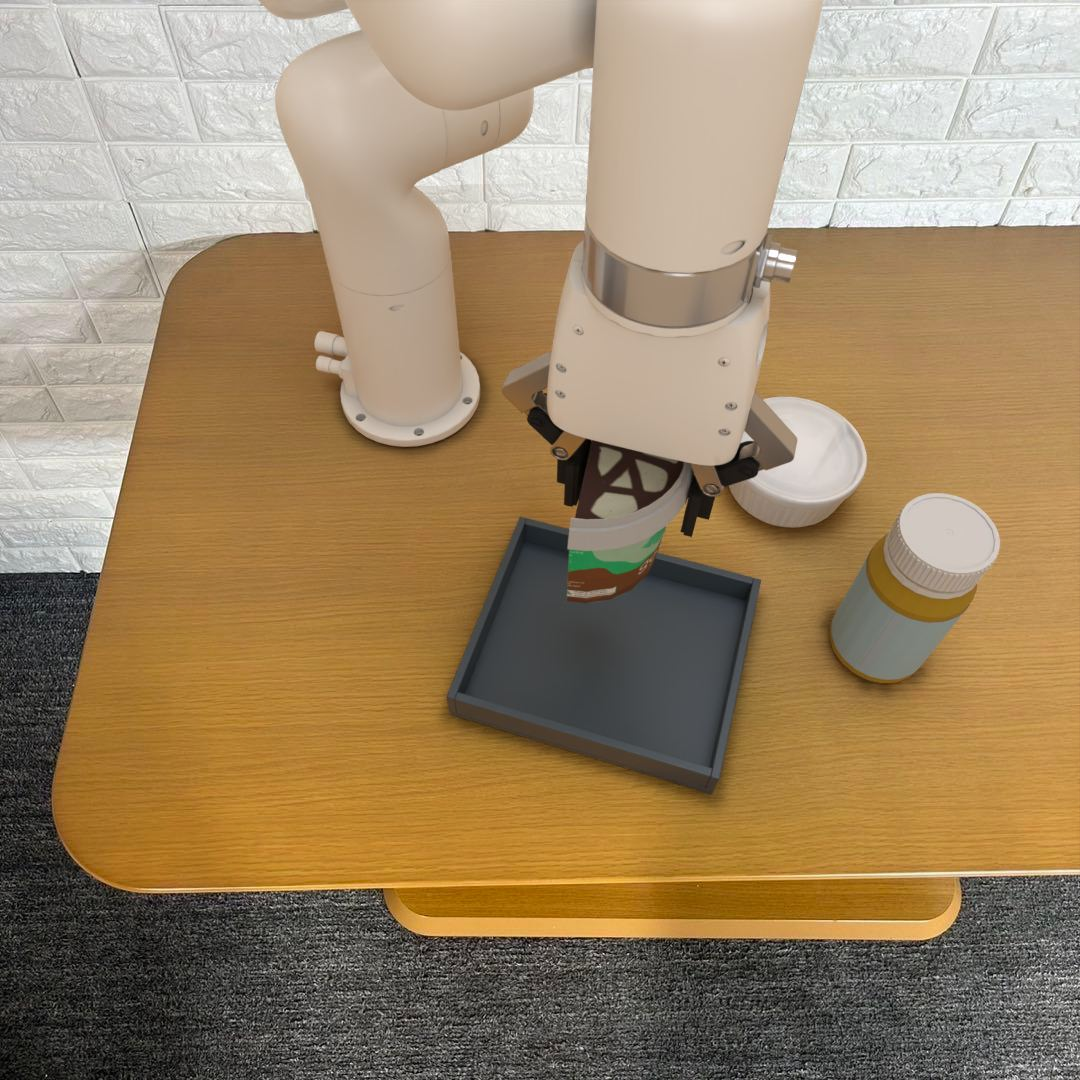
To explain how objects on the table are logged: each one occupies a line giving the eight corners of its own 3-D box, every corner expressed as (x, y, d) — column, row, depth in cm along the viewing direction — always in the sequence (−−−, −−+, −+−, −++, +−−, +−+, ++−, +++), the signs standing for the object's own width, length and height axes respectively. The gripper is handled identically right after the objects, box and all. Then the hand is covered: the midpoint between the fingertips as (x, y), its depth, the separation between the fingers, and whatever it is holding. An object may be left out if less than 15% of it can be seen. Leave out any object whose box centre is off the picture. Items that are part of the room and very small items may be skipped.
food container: (663, 640, 54) (688, 547, 45) (561, 622, 54) (568, 527, 46) (684, 481, 61) (709, 375, 52) (594, 466, 61) (605, 359, 53)
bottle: (902, 703, 65) (989, 598, 53) (812, 657, 67) (875, 546, 55) (933, 632, 69) (1021, 517, 56) (846, 590, 71) (913, 471, 58)
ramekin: (860, 541, 73) (880, 503, 69) (723, 539, 73) (735, 501, 69) (836, 437, 80) (854, 396, 75) (710, 435, 80) (720, 394, 75)
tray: (449, 714, 65) (446, 696, 62) (520, 538, 73) (519, 515, 71) (711, 794, 62) (719, 779, 59) (753, 600, 70) (761, 579, 68)
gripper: (883, 238, 39) (788, 489, 54) (507, 167, 42) (514, 424, 57) (865, 354, 35) (768, 591, 50) (451, 267, 38) (474, 516, 53)
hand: (633, 500), depth 53 cm, fingers closed on food container, 6 cm apart
